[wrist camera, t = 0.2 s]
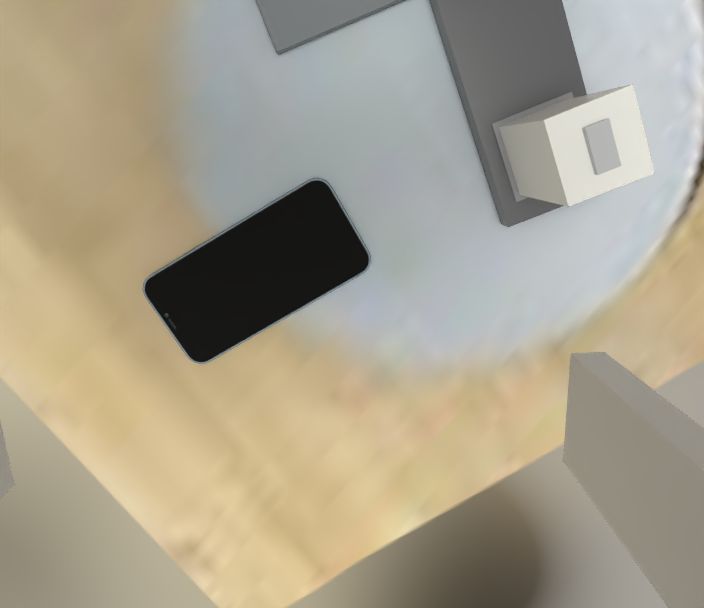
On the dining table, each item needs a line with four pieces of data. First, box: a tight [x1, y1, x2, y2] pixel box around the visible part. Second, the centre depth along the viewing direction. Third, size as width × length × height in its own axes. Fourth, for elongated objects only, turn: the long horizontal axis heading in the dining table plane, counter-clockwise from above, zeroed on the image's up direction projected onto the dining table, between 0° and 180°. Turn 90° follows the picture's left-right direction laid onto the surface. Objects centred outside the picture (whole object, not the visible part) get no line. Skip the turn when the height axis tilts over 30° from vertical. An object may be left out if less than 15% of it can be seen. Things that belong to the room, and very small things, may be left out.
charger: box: [499, 84, 654, 207], centre depth 31 cm, size 4×4×8 cm
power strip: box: [429, 0, 587, 227], centre depth 34 cm, size 26×7×2 cm, turn 22°
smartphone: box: [143, 178, 371, 364], centre depth 39 cm, size 7×1×15 cm
